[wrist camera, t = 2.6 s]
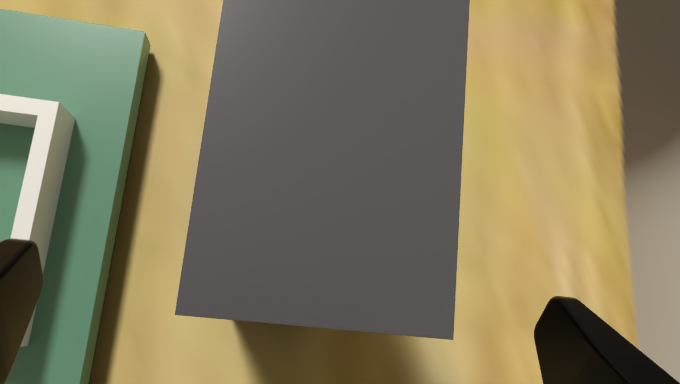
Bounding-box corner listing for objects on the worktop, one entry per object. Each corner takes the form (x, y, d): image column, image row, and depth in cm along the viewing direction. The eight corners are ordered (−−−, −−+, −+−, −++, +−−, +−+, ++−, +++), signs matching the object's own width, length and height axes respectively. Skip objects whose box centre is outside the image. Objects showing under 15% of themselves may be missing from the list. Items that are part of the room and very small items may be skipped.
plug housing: (328, 312, 18) (453, 339, 7) (226, 303, 18) (174, 315, 6) (341, 173, 20) (470, -8, 8) (245, 160, 19) (231, -52, 7)
